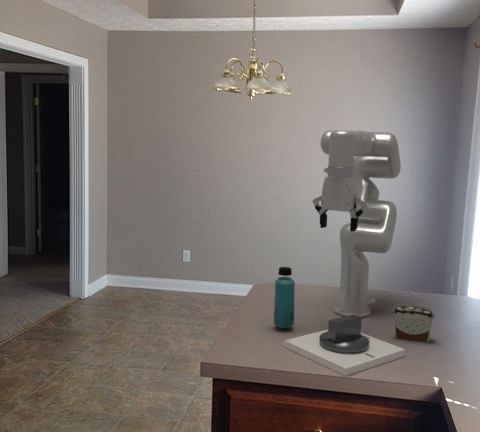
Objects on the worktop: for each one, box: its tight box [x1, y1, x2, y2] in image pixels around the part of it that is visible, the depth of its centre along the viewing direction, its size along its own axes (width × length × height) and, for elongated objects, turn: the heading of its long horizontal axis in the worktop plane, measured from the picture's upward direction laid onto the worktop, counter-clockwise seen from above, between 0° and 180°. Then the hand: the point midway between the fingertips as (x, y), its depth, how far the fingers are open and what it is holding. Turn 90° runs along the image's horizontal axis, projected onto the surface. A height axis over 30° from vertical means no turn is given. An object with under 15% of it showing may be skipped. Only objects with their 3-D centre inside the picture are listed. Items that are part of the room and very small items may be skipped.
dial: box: [319, 314, 369, 354], centre depth 161 cm, size 14×14×8 cm
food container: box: [392, 303, 436, 345], centre depth 173 cm, size 12×6×10 cm, turn 71°
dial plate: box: [283, 329, 406, 377], centre depth 162 cm, size 24×24×2 cm
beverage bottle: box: [273, 266, 296, 329], centre depth 178 cm, size 6×7×20 cm
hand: (338, 229), depth 171 cm, fingers open, 9 cm apart
